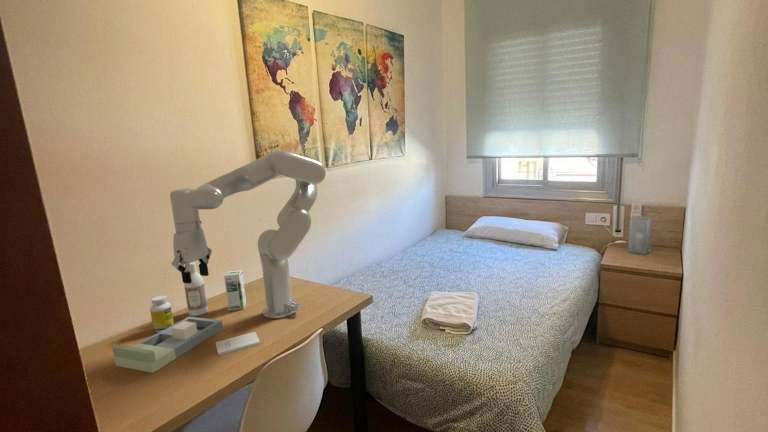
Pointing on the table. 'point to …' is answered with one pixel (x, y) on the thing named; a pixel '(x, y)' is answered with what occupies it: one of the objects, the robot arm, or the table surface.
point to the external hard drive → (237, 343)
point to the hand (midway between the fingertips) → (196, 278)
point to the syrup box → (235, 290)
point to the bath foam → (196, 293)
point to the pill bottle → (161, 313)
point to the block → (184, 330)
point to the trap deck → (163, 346)
